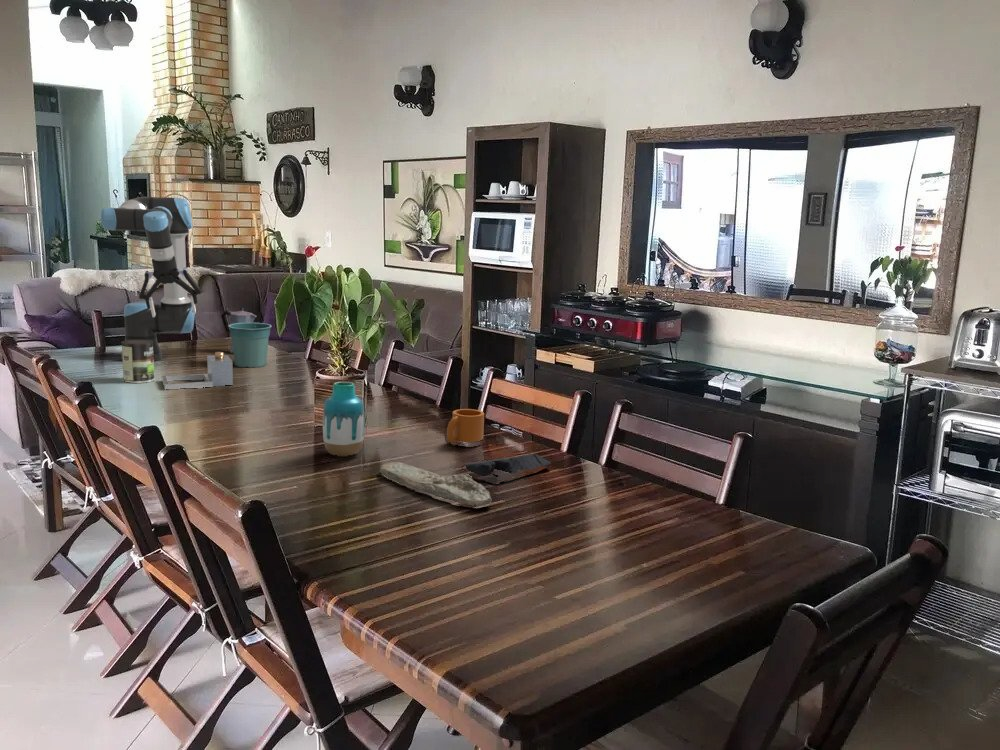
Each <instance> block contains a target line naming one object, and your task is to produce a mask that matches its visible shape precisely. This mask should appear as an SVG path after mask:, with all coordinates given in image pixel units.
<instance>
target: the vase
mask: <svg viewBox="0 0 1000 750" xmlns="http://www.w3.org/2000/svg"><path fill="white" fill-rule="evenodd" d="M355 388H356V387H355V383H354V382H351V381H338V382H334V383H333V384H332V393H331V396H330V397H328V398H326V400H325V401H324V405H323V411H322V412H323V413H322V437H323V439H322V440H323V445H324V448H325V449H326V451H327V452H328V453H329V454H331V455H333V456H335V455H337V456H336V457H349V456H348V455H351V456H354V455H356V454H358V453H359V452H360V451H361V449H362V447H363V445H364V436H365V408H364V402H363V401H362V400H361V398H359V397H358V396H357V394H356V392H355V391H356V389H355ZM353 454H354V455H353Z"/></svg>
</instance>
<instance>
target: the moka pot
mask: <svg viewBox="0 0 1000 750" xmlns="http://www.w3.org/2000/svg"><path fill="white" fill-rule="evenodd" d="M226 315H227V316H229V317H230V318H231V319H230V320H231V321H230V322H231V324H235V323H254V320H255V319H256V318H257V315H256V314H253V312H248V311H245V310H244V307H243V306H241V307H239V310H237V311H228V310H225V311H224V312H223V313H222V314H221V320H222V322H223V323H222V324H223V326H224V330H225V332H227V333H230V329H229V327H228V325H227V321H226V318H225V316H226ZM230 334H231V333H230ZM229 353H230V354H233V355H234V351H233V342H232V341H231V343H230V349H229Z"/></svg>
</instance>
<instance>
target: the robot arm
mask: <svg viewBox="0 0 1000 750" xmlns="http://www.w3.org/2000/svg"><path fill="white" fill-rule="evenodd" d="M100 221H101V227H102V229H104V230H106V231H113V232H114V231H120V232H121V231H126V232H127V231H128V232H129V231H131V232H145V235H146V238H147V244H148V250H149V254H150V258H151V264H152V270H153V272H152V271H148V270H145V272H144V281H143V283H142V286H141V289H140V293H139V295H138V298H139V299H140V300H141V301H135V302H129V303H126V304H125V305H124V308H123V318H124V319H123V320H124V322H123V323H124V324H123V325H124V341H126V340H151V341H153V360H154V362H155V361H159V360H162V359H163V353H162V349H161V348H160V345H159V342H158V339H157V334H190V333H192V332H193V330H194V325H195V319H196V318H195V317H196V314H197V313H196V312H197V310H196V308H197V307H196V305H197V304H198V296H197V295H200V294H201V292H202V291H201V290H202V289H201V287H200V286H199V285H198V283H197V282H196V281H195V280H194V278H193V277H192V276H191V275H190V274H189V271H188V268H187V259H186V257H187V256H186V255H187V254H186V239H185V238H186V236H187V235H189V232H190V231H189V230H190V229H193V219H192V213H191V207H190V203H189V201H188V200H187V199H186V198H180V197H167V196H166V197H163V196H160V197H158V196H140V197H136V198H132V199H128V200H125V201H124V202H122V203H121V204H120V206H119V207H104V208H102V209H101V211H100ZM152 277H154V279H155V281H154V283H153V284H152V286H151V287H150V288H149V290H148V291H147V293H146V294H145V292H146V290H147V287H148V284H149V280H150V279H152ZM187 283H188V284H187ZM161 284H163V293H164V294H163V297H162V298H161V299H160V304H158V303H156V301H155V300H153V297H152V295H153V294H154V293H155V291H156V290H157V288H158V287H159V286H160V285H161ZM189 284H190V285H189ZM188 294H190V295H189V296H190V297H189V296H188ZM142 299H143V300H142ZM120 358H121V359H122V360H121V359H120V360H121V361H123V358H122V352H121V354H120Z"/></svg>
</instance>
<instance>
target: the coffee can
mask: <svg viewBox="0 0 1000 750" xmlns="http://www.w3.org/2000/svg"><path fill="white" fill-rule="evenodd" d="M120 344H121V353H122V358H123V360H122V374H123V376H122V377H123V382H124V381H125V382H124V383H126V382H130V383H129V384H147V383H152V382H154V381H155V367H154V366H155V365H154V362H155V361H154V360H153V341H151V340H126V341H125V340H122V341H121V343H120ZM153 380H154V381H153ZM151 381H152V382H151ZM146 382H147V383H146Z"/></svg>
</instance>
